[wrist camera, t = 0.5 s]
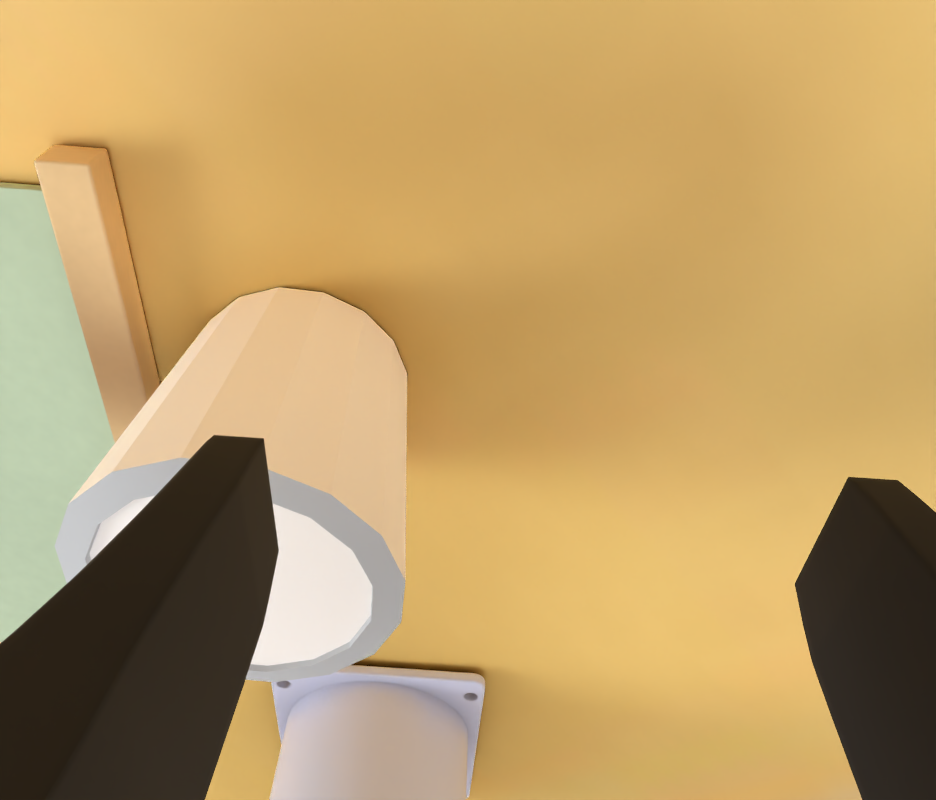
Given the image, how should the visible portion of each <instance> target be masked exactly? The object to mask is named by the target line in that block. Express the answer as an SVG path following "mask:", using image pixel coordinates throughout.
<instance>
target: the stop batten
mask: <svg viewBox="0 0 936 800" xmlns="http://www.w3.org/2000/svg"><path fill="white" fill-rule="evenodd" d="M34 165H35V168H36V172H37V175H38V179H39V182H40V186H41V189H42V193H43V196H44V200H45V203H46V206H47V210H48V213H49V217H50V220H51V224H52V227H53V231H54V234H55V238H56V241H57V245H58V248H59V252H60V255H61V258H62V262H63V265H64V269H65V272H66V276H67V279H68V283H69V286H70V290H71V293H72V297H73V300H74V304H75V307H76V310H77V314H78V317H79V321H80V324H81V328H82V331H83V335H84V338H85V342H86V345H87V349H88V352H89V356H90V359H91V363H92V366H93V369H94V373H95V376H96V380H97V383H98V387H99V390H100V394H101V397H102V401H103V404H104V408H105V411H106V415H107V418H108V421H109V425H110V428H111V432H112V435H113V439H114V442H115V443H116V441H117V440H118V439H119V437H120V436H121V435H122V434H123V432H124V431H125V430H126V428H127V427H128V426H129V424H130V423H131V422H132V421H133V419H134V418H135V417H136V415H137V414H138V413H139V411H140V410H141V409H142V408H143V406H144V405H145V404H146V402H147V401H148V400H149V398H150V397H151V396H152V395H153V393H154V392H155V391H156V389H157V388H158V387H159V386H160V382H159V378H158V373H157V369H156V364H155V360H154V356H153V351H152V347H151V342H150V338H149V333H148V329H147V325H146V320H145V316H144V311H143V307H142V302H141V298H140V293H139V289H138V285H137V280H136V276H135V271H134V267H133V262H132V258H131V254H130V249H129V245H128V240H127V236H126V231H125V227H124V223H123V218H122V214H121V209H120V205H119V200H118V196H117V192H116V187H115V183H114V178H113V174H112V169H111V165H110V160H109V156H108V152H107V150H106V149H104V148H92V147H79V146H66V145H53V146H52V147H50V148H49V149H48V150H46V151H45V152H44V153H43V154H41V155H40V156H39V157H38V158H36V159H35V160H34Z"/></svg>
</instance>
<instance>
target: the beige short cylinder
mask: <svg viewBox="0 0 936 800" xmlns="http://www.w3.org/2000/svg"><path fill="white" fill-rule="evenodd" d="M213 435H221V436H236V437H252V438H264V444H265V451H266V459H267V466H268V474H269V481H270V488H271V496H272V503H273V511H274V518H275V525H276V533H277V540H278V548H279V552H278V557H277V562H276V567H275V572H274V577H273V582H272V587H271V592H270V597H269V601H268V606H267V610H266V615H265V619H264V624H263V627H262V631H261V634H260V637H259V640H258V643H257V646H256V649H255V652H254V655H253V658H252V661H251V664H250V667H249V670H248V673H247V676H246V680H257V681H267V682H280V681H287V680H295V679H302V678H309V677H316V676H324V675H330V674H332V673H335V672H337V671H339V670H341V669H343V668H345V667H348V666H350V665H352V664H354V663H356V662H358V661H360V660H363V659H365V658H367V657H369V656H371V655H373V654H375V653H376V651H377V650H378V649H379V648H380V647H381V645H382V644H383V643H384V642H385V641H386V639H387V638H388V637H389V636H390V635H391V634H392V632H393V631H394V630H395V629H396V628H397V626H398V625H399V624H400V623H401V619H402V609H403V599H404V589H405V561H406V454H407V372H406V370H405V367H404V365H403V362H402V360H401V358H400V355H399V353H398V350H397V348H396V345H395V343H394V341H393V340H392V339H391V338H390V337H389V336H388V335H387V334H386V333H385V332H384V331H383V330H382V329H381V328H380V327H379V326H378V325H377V324H376V323H375V322H374V321H373V320H372V319H371V318H370V317H369V316H368V315H367V314H366V313H365V312H364V311H362V310H360V309H358V308H356V307H354V306H351V305H349V304H347V303H345V302H343V301H341V300H339V299H337V298H334V297H332V296H330V295H328V294H326V293H324V292H316V291H307V290H299V289H290V288H281V287H278V288H274V289H270V290H266V291H262V292H258V293H254V294H250V295H245V296H241V297H238V298H237V299H236V300H234V301H233V302H232V303H231V304H229V305H228V306H227V307H226V308H224V309H223V310H222V311H221V312H219V313H218V314H217V315H216V316H214V317H213V318H212V319H211V320H210V321H209V322H208V323H207V325H206V326H205V327H204V328H203V330H202V331H201V332H200V334H199V335H198V336H197V338H196V339H195V340H194V341H193V343H192V344H191V345H190V347H189V348H188V349H187V350H186V352H185V353H184V354H183V356H182V357H181V358H180V360H179V361H178V362H177V363H176V365H175V366H174V367H173V369H172V370H171V371H170V373H169V374H168V375H167V376H166V378H165V379H164V380H163V382H162V383H161V384H160V386H159V387H158V388H157V389H156V391H155V392H154V393H153V395H152V396H151V397H150V398H149V400H148V401H147V402H146V404H145V405H144V406H143V408H142V409H141V410H140V411H139V413H138V414H137V415H136V417H135V418H134V419H133V421H132V422H131V423H130V424H129V426H128V427H127V428H126V430H125V431H124V432H123V434H122V435H121V436H120V437H119V439H118V440H117V441H116V443H115V444H114V445H113V446H112V448H111V449H110V450H109V452H108V453H107V454H106V456H105V457H104V458H103V459H102V461H101V462H100V463H99V465H98V466H97V467H96V469H95V470H94V471H93V472H92V474H91V475H90V476H89V478H88V479H87V480H86V481H85V483H84V484H83V485H82V487H81V488H80V489H79V491H78V492H77V493H76V494H75V496H74V497H73V498H72V500H71V501H70V502H69V504H68V506H67V509H66V512H65V515H64V518H63V521H62V525H61V528H60V531H59V534H58V537H57V540H56V543H55V549H56V552H57V555H58V558H59V561H60V564H61V567H62V570H63V573H64V577H65V580H66V583H68V582H69V581H70V580H71V579H72V578H74V577H75V576H76V575H77V574H78V573H79V572H80V571H81V570H82V569H83V568H84V567H85V566H86V565H87V564H88V563H89V562H90V561H91V560H92V559H93V558H94V557H95V556H96V555H97V554H98V553H99V552H100V551H101V550H102V549H103V548H104V547H105V546H106V545H107V544H108V543H109V542H110V541H111V540H112V539H113V538H114V537H115V536H116V535H117V534H118V533H119V532H120V531H121V530H122V529H123V528H124V527H125V526H126V525H127V524H128V523H129V522H130V521H131V520H132V519H133V518H134V517H135V516H136V515H137V514H138V513H139V512H140V511H141V510H142V509H143V508H144V507H145V506H146V505H147V504H148V503H149V502H150V501H151V500H152V499H153V498H154V497H155V496H156V494H157V493H158V492H159V491H160V490H161V489H162V488H163V487H164V486H165V485H166V484H167V483H168V482H169V481H170V480H171V479H172V478H173V476H174V475H175V474H176V473H177V472H178V471H179V470H180V469H181V468H182V467H183V466H184V465H185V464H186V462H187V461H188V460H189V459H190V458H191V457H192V456H193V455H194V454H195V453H196V452H197V451H198V450H199V449H200V447H201V446H202V445H203V444H204V443H205V442H206V441H207V440H209V439H210V438H211V437H212V436H213Z"/></svg>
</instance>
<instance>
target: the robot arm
mask: <svg viewBox="0 0 936 800" xmlns="http://www.w3.org/2000/svg"><path fill="white" fill-rule="evenodd" d="M278 552H279V548H278V540H277V533H276V525H275V518H274V511H273V503H272V496H271V488H270V481H269V474H268V466H267V459H266V451H265V444H264V438H252V437H236V436H221V435H213V436H212V437H211V438H210V439H209V440H207V441H206V442H205V443H204V444H203V445H202V446H201V447H200V449H199V450H198V451H197V452H196V453H195V454H194V455H193V456H192V457H191V458H190V459H189V460H188V461H187V462H186V464H185V465H184V466H183V467H182V468H181V469H180V470H179V471H178V472H177V473H176V474H175V475H174V476H173V478H172V479H171V480H170V481H169V482H168V483H167V484H166V485H165V486H164V487H163V488H162V489H161V490H160V491H159V492H158V493H157V494H156V496H155V497H154V498H153V499H152V500H151V501H150V502H149V503H148V504H147V505H146V506H145V507H144V508H143V509H142V510H141V511H140V512H139V513H138V514H137V515H136V516H135V517H134V518H133V519H132V520H131V521H130V522H129V523H128V524H127V525H126V526H125V527H124V528H123V529H122V530H121V531H120V532H119V533H118V534H117V535H116V536H115V537H114V538H113V539H112V540H111V541H110V542H109V543H108V544H107V545H106V546H105V547H104V548H103V549H102V550H101V551H100V552H99V553H98V554H97V555H96V556H95V557H94V558H93V559H92V560H91V561H90V562H89V563H88V564H87V565H86V566H85V567H84V568H83V569H82V570H81V571H80V572H79V573H78V574H77V575H76V576H75V577H74V578H72V579H71V580H70V581H69V582H68V583H67V584H66V585H65V586H64V587H63V588H61V589H60V590H59V591H58V592H57V593H56V594H55V595H54V596H53V597H52V598H50V599H49V600H48V601H47V602H46V603H45V604H44V605H43V606H42V607H41V608H39V609H38V610H37V611H36V612H35V613H34V614H33V615H32V616H31V617H30V618H28V619H27V620H26V621H25V622H24V623H23V624H22V625H21V626H20V627H19V628H17V629H16V630H15V631H14V632H13V633H12V634H11V635H9V636H8V637H7V638H6V639H5V640H4V641H2V642H1V643H0V800H205V797H206V794H207V791H208V788H209V785H210V782H211V779H212V776H213V773H214V771H215V768H216V765H217V762H218V759H219V756H220V753H221V750H222V747H223V744H224V741H225V738H226V735H227V732H228V729H229V726H230V723H231V720H232V717H233V714H234V712H235V709H236V706H237V703H238V700H239V697H240V694H241V691H242V688H243V685H244V682H245V679H246V676H247V673H248V670H249V667H250V664H251V661H252V658H253V655H254V652H255V649H256V646H257V643H258V640H259V637H260V634H261V631H262V627H263V624H264V619H265V615H266V610H267V606H268V601H269V597H270V592H271V587H272V582H273V577H274V572H275V567H276V562H277V557H278ZM795 587H796V592H797V597H798V602H799V607H800V611H801V616H802V621H803V626H804V630H805V634H806V638H807V643H808V647H809V651H810V655H811V659H812V662H813V665H814V668H815V671H816V674H817V677H818V680H819V683H820V685H821V688H822V691H823V694H824V697H825V699H826V702H827V705H828V708H829V710H830V713H831V716H832V719H833V721H834V724H835V727H836V730H837V732H838V735H839V738H840V740H841V743H842V746H843V748H844V751H845V754H846V757H847V759H848V762H849V765H850V767H851V770H852V773H853V775H854V778H855V781H856V784H857V786H858V789H859V792H860V794H861V797H862V800H936V512H935V511H933V510H932V509H931V508H930V507H929V506H928V505H927V504H926V503H924V502H923V501H922V500H921V499H920V498H918V497H917V496H916V495H915V494H914V493H913V492H911V491H910V490H909V489H908V488H906V487H905V486H904V485H903V484H902V483H900V482H899V481H898V480H885V479H870V478H855V477H848V479H847V481H846V483H845V485H844V487H843V489H842V491H841V493H840V495H839V497H838V499H837V501H836V503H835V505H834V507H833V509H832V511H831V513H830V515H829V517H828V519H827V521H826V523H825V525H824V527H823V529H822V531H821V533H820V535H819V537H818V539H817V541H816V543H815V545H814V547H813V549H812V551H811V553H810V555H809V557H808V559H807V561H806V563H805V565H804V567H803V569H802V571H801V573H800V575H799V577H798V578H797V580H796V582H795ZM271 685H272V691H273V697H274V703H275V709H276V715H277V722H278V728H279V734H280V740H281V750H280V754H279V759H278V763H277V767H276V772H275V776H274V781H273V785H272V789H271V794H270V798H269V800H466V799H467V798H468V797H469V794H470V788H471V781H472V774H473V767H474V760H475V754H476V747H477V740H478V733H479V727H480V720H481V713H482V706H483V700H484V693H485V679H484V678H483V677H482V676H481V675H479V674H475V673H465V672H450V671H436V670H421V669H406V668H391V667H376V666H361V665H350V666H348V667H345V668H343V669H341V670H339V671H337V672H335V673H332V674H330V675H324V676H316V677H309V678H302V679H295V680H287V681H280V682H271Z"/></svg>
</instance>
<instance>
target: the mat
mask: <svg viewBox="0 0 936 800" xmlns="http://www.w3.org/2000/svg"><path fill="white" fill-rule="evenodd" d="M114 444H115V442H114V439H113V435H112V432H111V428H110V425H109V421H108V418H107V415H106V411H105V408H104V404H103V401H102V397H101V394H100V390H99V387H98V383H97V380H96V376H95V373H94V369H93V366H92V363H91V359H90V356H89V352H88V349H87V345H86V342H85V338H84V335H83V331H82V328H81V324H80V321H79V317H78V314H77V310H76V307H75V304H74V300H73V297H72V293H71V290H70V286H69V283H68V279H67V276H66V272H65V269H64V265H63V262H62V258H61V255H60V252H59V248H58V245H57V241H56V238H55V234H54V231H53V227H52V224H51V220H50V217H49V213H48V210H47V206H46V203H45V200H44V196H43V193H42V189H41V186H40V185H30V184H17V183H4V182H0V642H2V641H4V640H5V639H6V638H7V637H8V636H9V635H11V634H12V633H13V632H14V631H15V630H16V629H17V628H19V627H20V626H21V625H22V624H23V623H24V622H25V621H26V620H27V619H28V618H30V617H31V616H32V615H33V614H34V613H35V612H36V611H37V610H38V609H39V608H41V607H42V606H43V605H44V604H45V603H46V602H47V601H48V600H49V599H50V598H52V597H53V596H54V595H55V594H56V593H57V592H58V591H59V590H60V589H61V588H63V587H64V586H65V585H66V584H67V583H66V580H65V577H64V573H63V570H62V567H61V564H60V561H59V558H58V555H57V552H56V549H55V543H56V540H57V537H58V534H59V531H60V528H61V525H62V521H63V518H64V515H65V512H66V509H67V506H68V504H69V502H70V501H71V500H72V498H73V497H74V496H75V494H76V493H77V492H78V491H79V489H80V488H81V487H82V485H83V484H84V483H85V481H86V480H87V479H88V478H89V476H90V475H91V474H92V472H93V471H94V470H95V469H96V467H97V466H98V465H99V463H100V462H101V461H102V459H103V458H104V457H105V456H106V454H107V453H108V452H109V450H110V449H111V448H112V446H113V445H114Z"/></svg>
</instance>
